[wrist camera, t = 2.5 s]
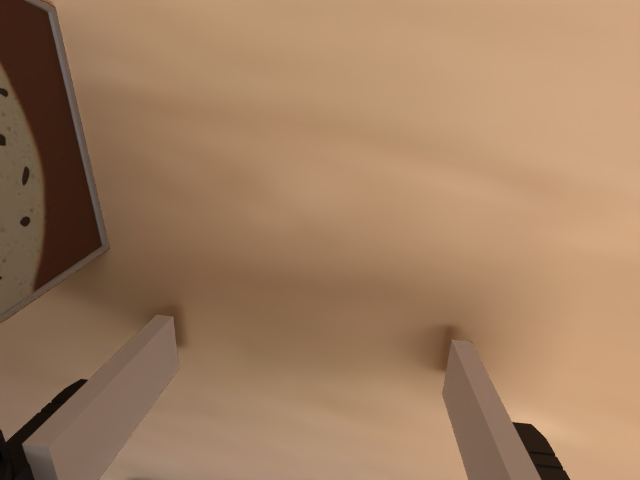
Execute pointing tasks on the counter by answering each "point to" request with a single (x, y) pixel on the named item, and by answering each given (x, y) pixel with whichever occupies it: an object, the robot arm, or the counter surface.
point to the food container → (41, 161)
